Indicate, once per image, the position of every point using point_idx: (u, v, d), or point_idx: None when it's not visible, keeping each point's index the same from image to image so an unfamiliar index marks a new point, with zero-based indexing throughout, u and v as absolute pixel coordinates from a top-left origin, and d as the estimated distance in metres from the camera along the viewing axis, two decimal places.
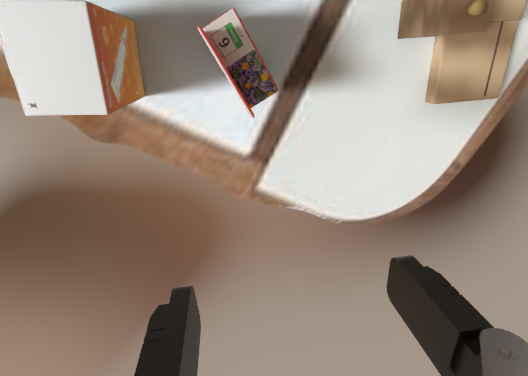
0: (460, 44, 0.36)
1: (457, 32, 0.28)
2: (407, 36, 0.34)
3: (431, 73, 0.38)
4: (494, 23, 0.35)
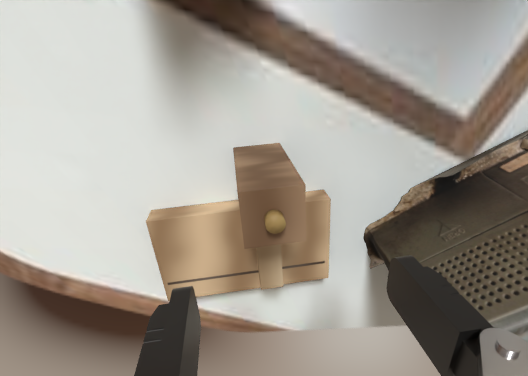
0: (230, 231, 0.26)
1: (241, 206, 0.17)
2: (235, 155, 0.23)
3: (191, 207, 0.26)
4: (256, 263, 0.28)
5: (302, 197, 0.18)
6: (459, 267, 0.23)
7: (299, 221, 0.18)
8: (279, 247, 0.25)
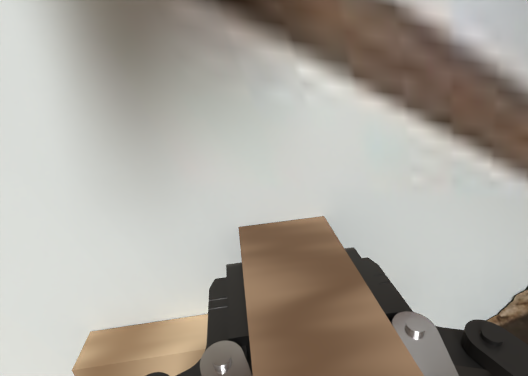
0: None
1: None
2: (245, 255, 0.12)
3: (162, 327, 0.15)
4: None
5: None
6: None
7: None
8: None
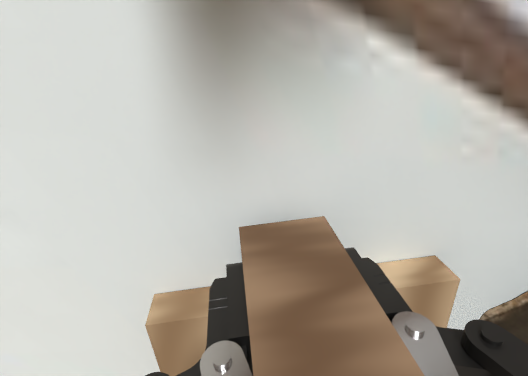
0: None
1: None
2: (245, 255, 0.12)
3: None
4: None
5: None
6: None
7: None
8: None
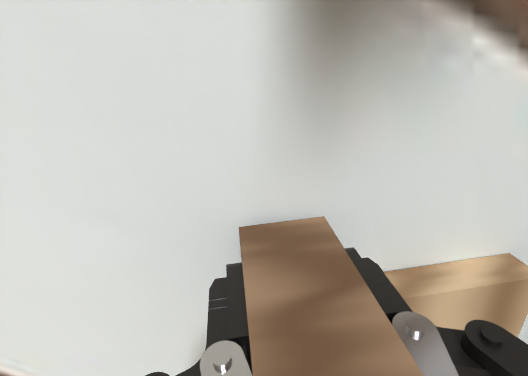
0: None
1: None
2: (245, 255, 0.12)
3: None
4: None
5: None
6: None
7: None
8: None
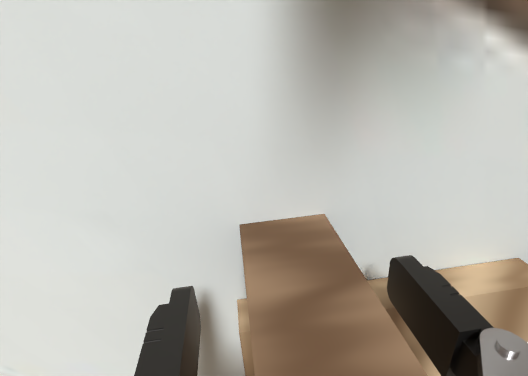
0: None
1: None
2: (246, 252, 0.12)
3: None
4: None
5: None
6: None
7: None
8: None
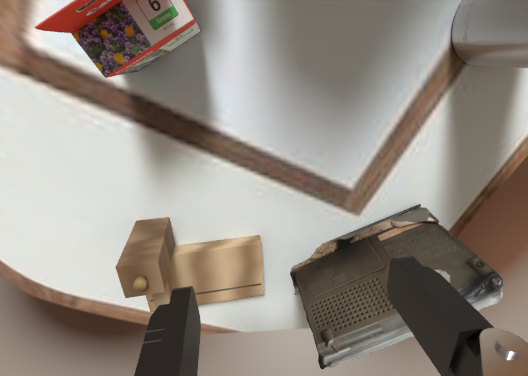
0: (193, 265, 0.39)
1: (119, 274, 0.29)
2: (133, 229, 0.35)
3: None
4: (212, 285, 0.41)
5: (157, 268, 0.30)
6: (337, 301, 0.37)
7: (158, 281, 0.30)
8: (166, 289, 0.37)
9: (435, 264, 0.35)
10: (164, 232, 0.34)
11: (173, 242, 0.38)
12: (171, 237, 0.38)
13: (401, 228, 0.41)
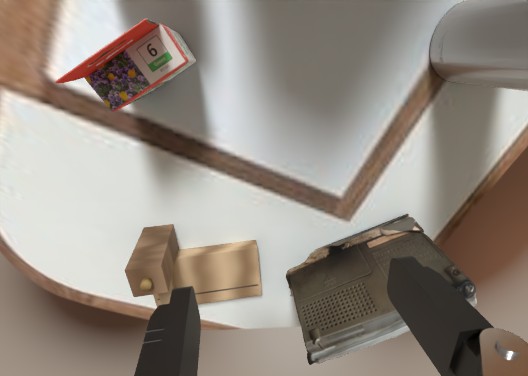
0: (195, 267, 0.43)
1: (127, 276, 0.33)
2: (141, 236, 0.39)
3: None
4: (213, 286, 0.44)
5: (161, 271, 0.34)
6: (326, 303, 0.40)
7: (161, 282, 0.34)
8: (170, 289, 0.41)
9: None
10: (168, 238, 0.38)
11: (177, 246, 0.42)
12: (175, 242, 0.42)
13: (389, 236, 0.44)
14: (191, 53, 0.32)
